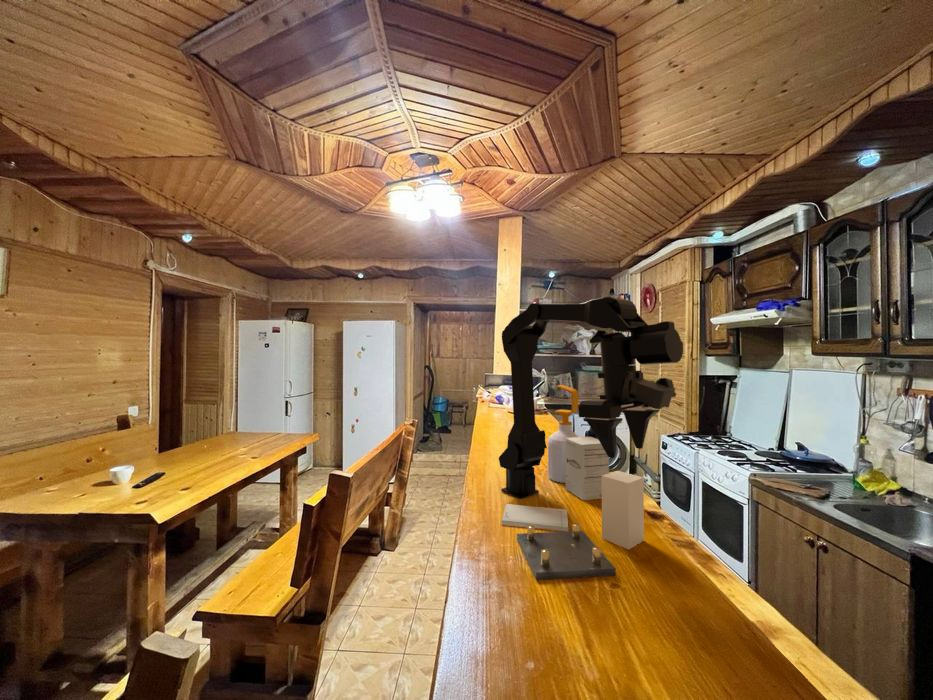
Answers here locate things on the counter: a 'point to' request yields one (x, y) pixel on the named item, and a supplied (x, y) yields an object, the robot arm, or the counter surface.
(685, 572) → the counter surface
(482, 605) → the counter surface
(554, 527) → the hard drive
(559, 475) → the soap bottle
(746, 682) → the counter surface
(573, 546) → the chassis plate
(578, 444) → the supplement box
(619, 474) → the cream block
